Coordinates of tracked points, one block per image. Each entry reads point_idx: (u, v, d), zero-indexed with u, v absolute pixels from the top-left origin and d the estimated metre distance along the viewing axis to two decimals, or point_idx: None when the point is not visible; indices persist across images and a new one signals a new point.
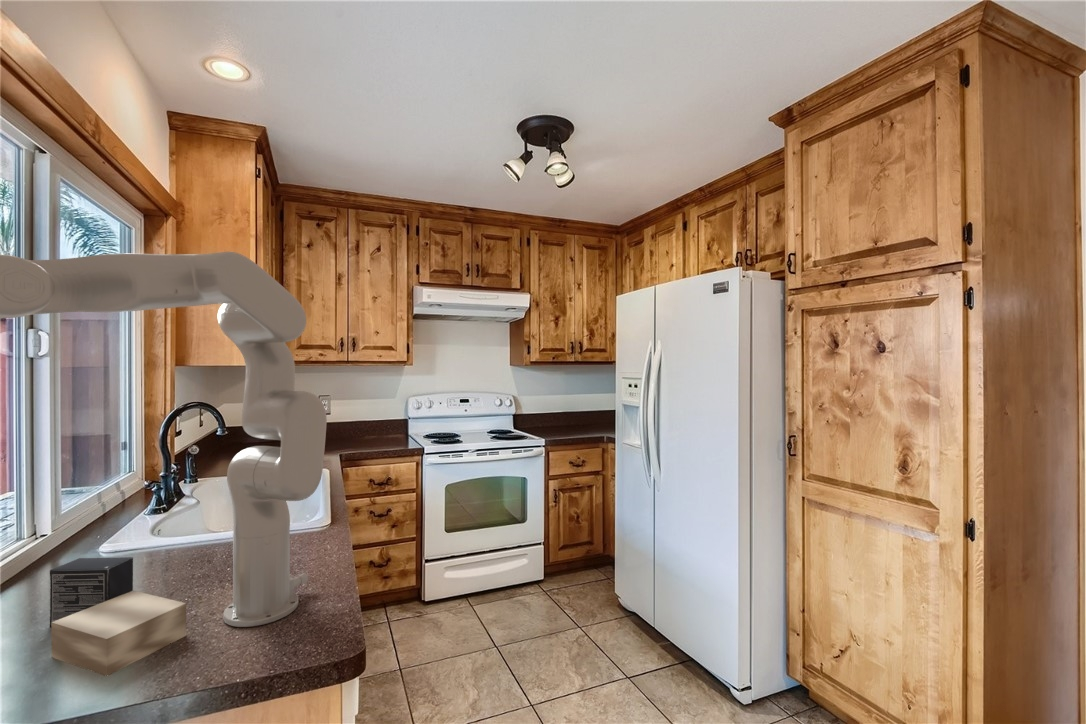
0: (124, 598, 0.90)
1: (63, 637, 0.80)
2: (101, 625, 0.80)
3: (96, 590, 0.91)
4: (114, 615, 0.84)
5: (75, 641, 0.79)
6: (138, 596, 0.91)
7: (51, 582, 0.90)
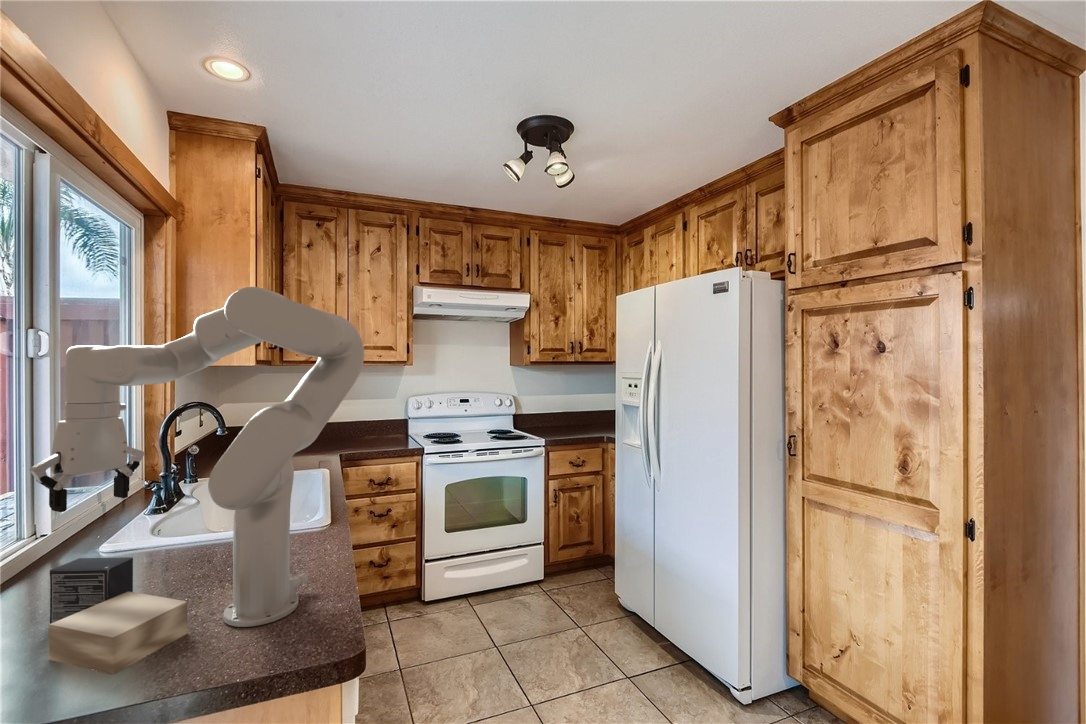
0: (121, 598, 0.89)
1: (63, 638, 0.80)
2: (103, 625, 0.80)
3: (96, 590, 0.91)
4: (115, 615, 0.84)
5: (76, 642, 0.79)
6: (134, 596, 0.90)
7: (51, 582, 0.90)
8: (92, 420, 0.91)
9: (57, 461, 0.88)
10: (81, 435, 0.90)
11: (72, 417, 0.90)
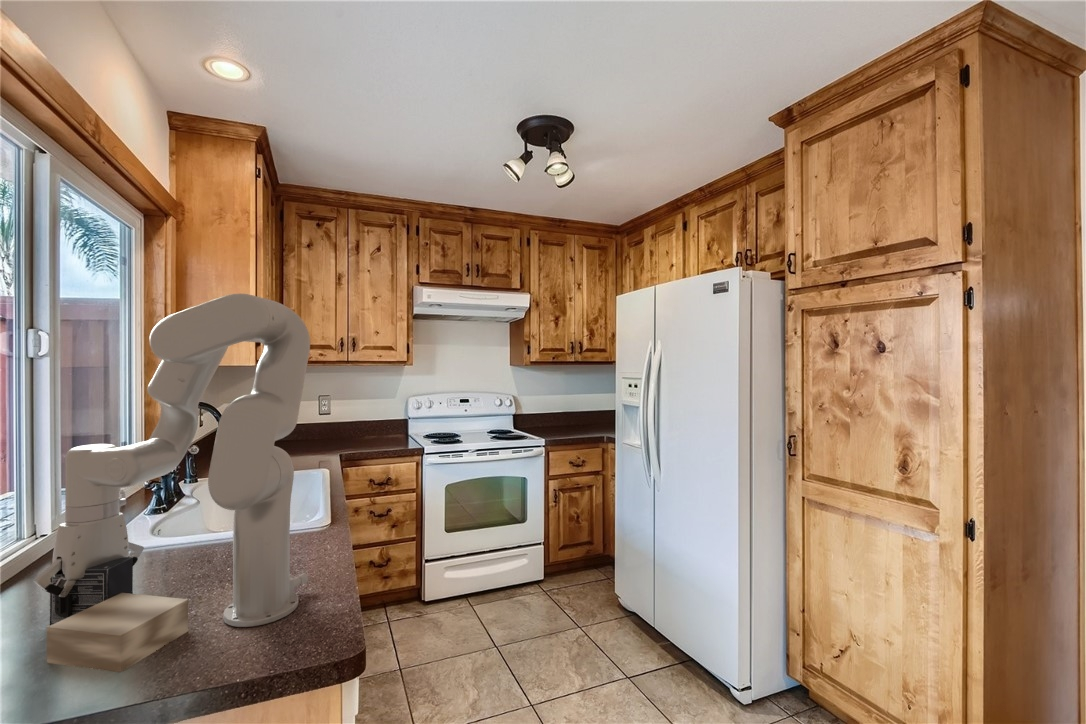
0: (116, 600, 0.89)
1: (63, 640, 0.79)
2: (106, 625, 0.81)
3: (95, 590, 0.91)
4: (115, 615, 0.84)
5: (79, 643, 0.79)
6: (130, 597, 0.90)
7: (51, 582, 0.90)
8: (93, 522, 0.91)
9: (60, 567, 0.88)
10: (82, 539, 0.90)
11: (73, 521, 0.90)
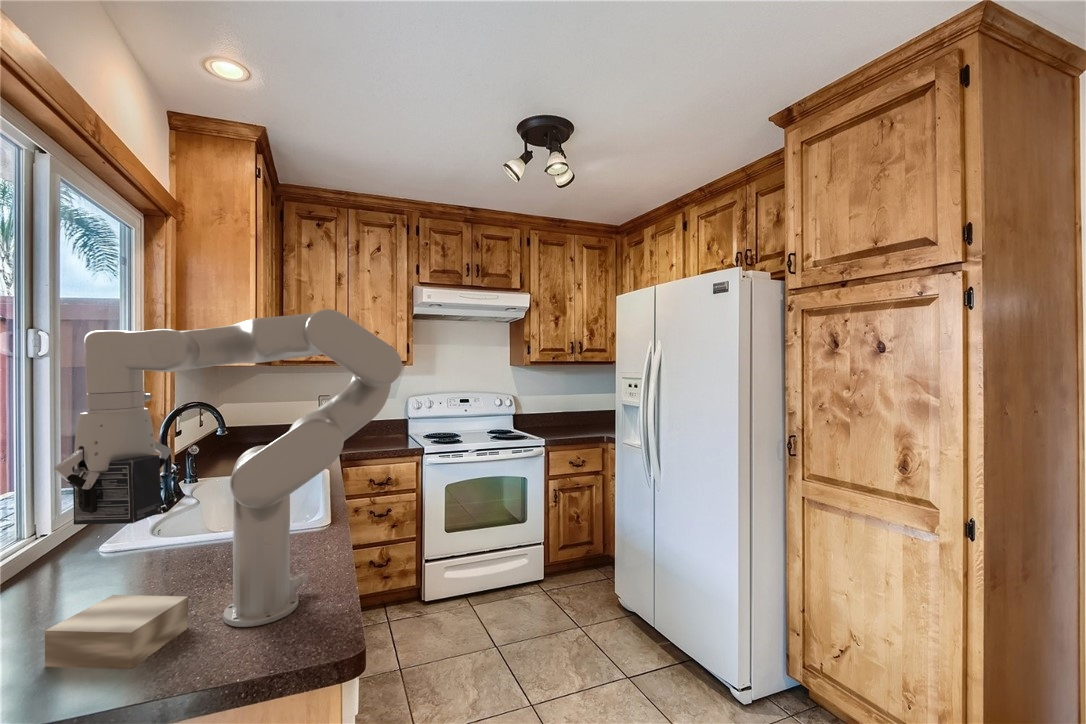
0: (110, 601, 0.88)
1: (64, 642, 0.79)
2: (111, 624, 0.81)
3: (120, 484, 0.83)
4: (116, 615, 0.84)
5: (83, 643, 0.79)
6: (124, 598, 0.90)
7: None
8: (115, 411, 0.83)
9: (82, 457, 0.81)
10: (104, 428, 0.83)
11: (94, 408, 0.82)
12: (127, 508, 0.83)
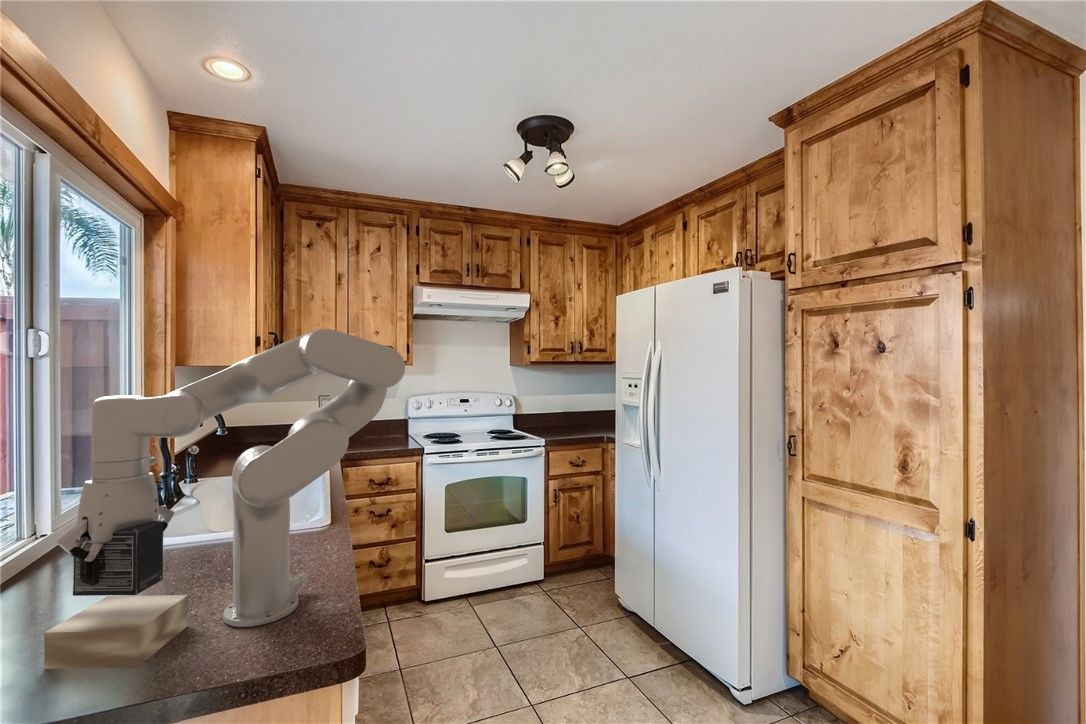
0: (106, 603, 0.88)
1: (66, 643, 0.78)
2: (114, 624, 0.81)
3: (124, 555, 0.82)
4: (117, 615, 0.84)
5: (86, 644, 0.79)
6: (120, 599, 0.89)
7: None
8: (122, 480, 0.82)
9: (85, 529, 0.79)
10: (110, 497, 0.81)
11: (100, 477, 0.81)
12: (130, 579, 0.82)
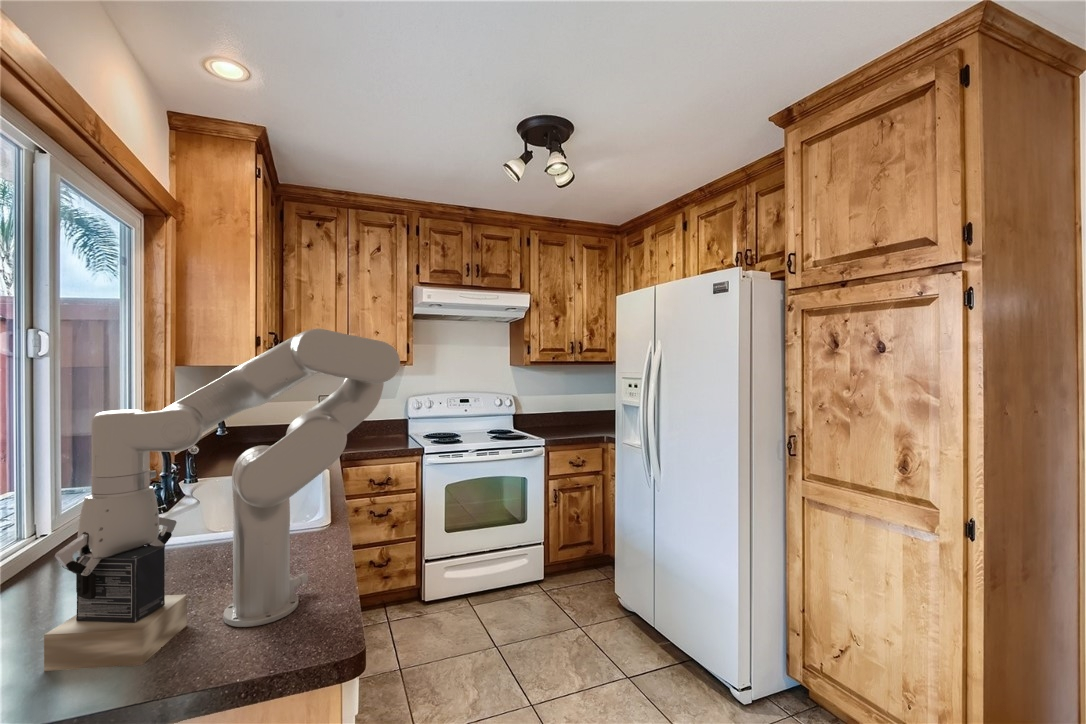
0: None
1: (67, 644, 0.78)
2: (116, 624, 0.81)
3: (123, 582, 0.81)
4: None
5: (88, 644, 0.79)
6: None
7: None
8: (122, 495, 0.82)
9: (85, 543, 0.79)
10: (110, 512, 0.81)
11: (100, 493, 0.81)
12: (129, 607, 0.81)
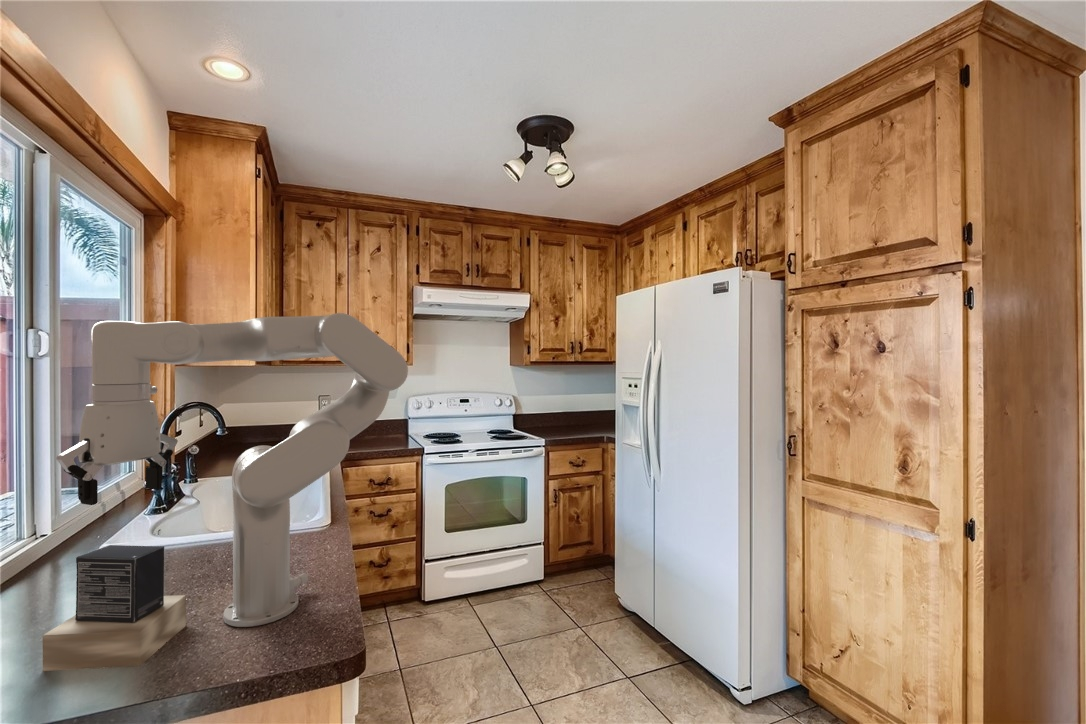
0: None
1: (65, 645, 0.78)
2: (114, 625, 0.81)
3: (123, 582, 0.81)
4: None
5: (86, 645, 0.78)
6: None
7: (77, 570, 0.82)
8: (123, 403, 0.82)
9: (86, 448, 0.79)
10: (111, 420, 0.81)
11: (101, 400, 0.81)
12: (128, 607, 0.81)
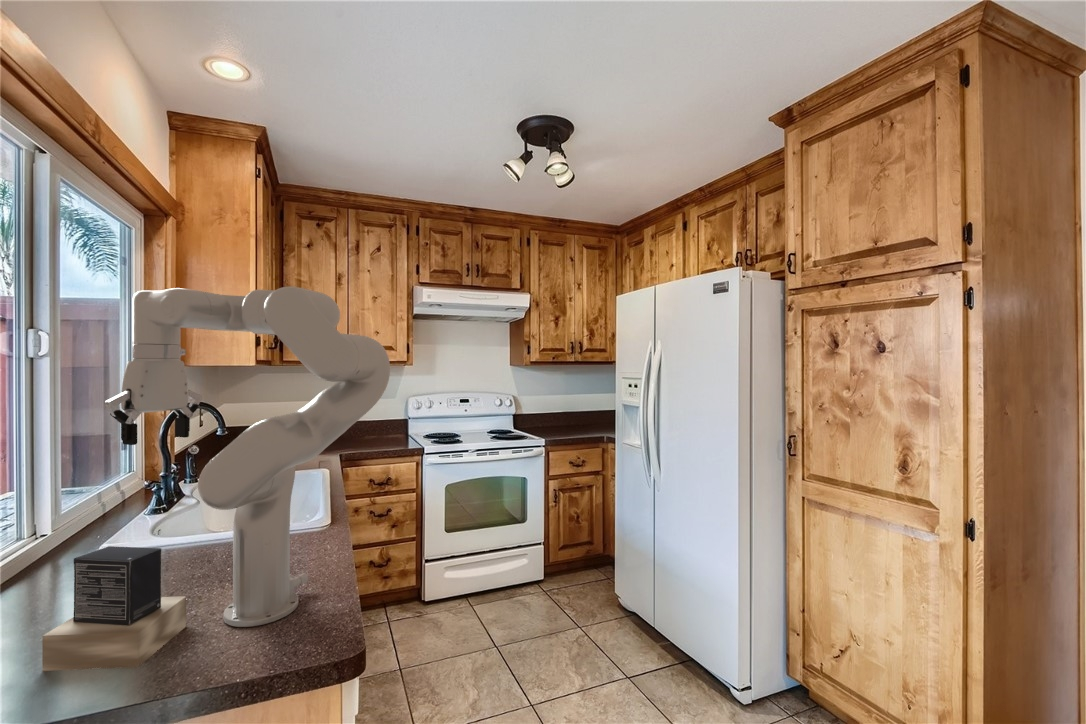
0: None
1: (64, 646, 0.78)
2: (113, 626, 0.81)
3: (118, 584, 0.81)
4: None
5: (85, 646, 0.78)
6: None
7: (75, 572, 0.82)
8: (158, 360, 0.96)
9: (128, 397, 0.94)
10: (149, 374, 0.96)
11: (140, 357, 0.95)
12: (123, 609, 0.81)
